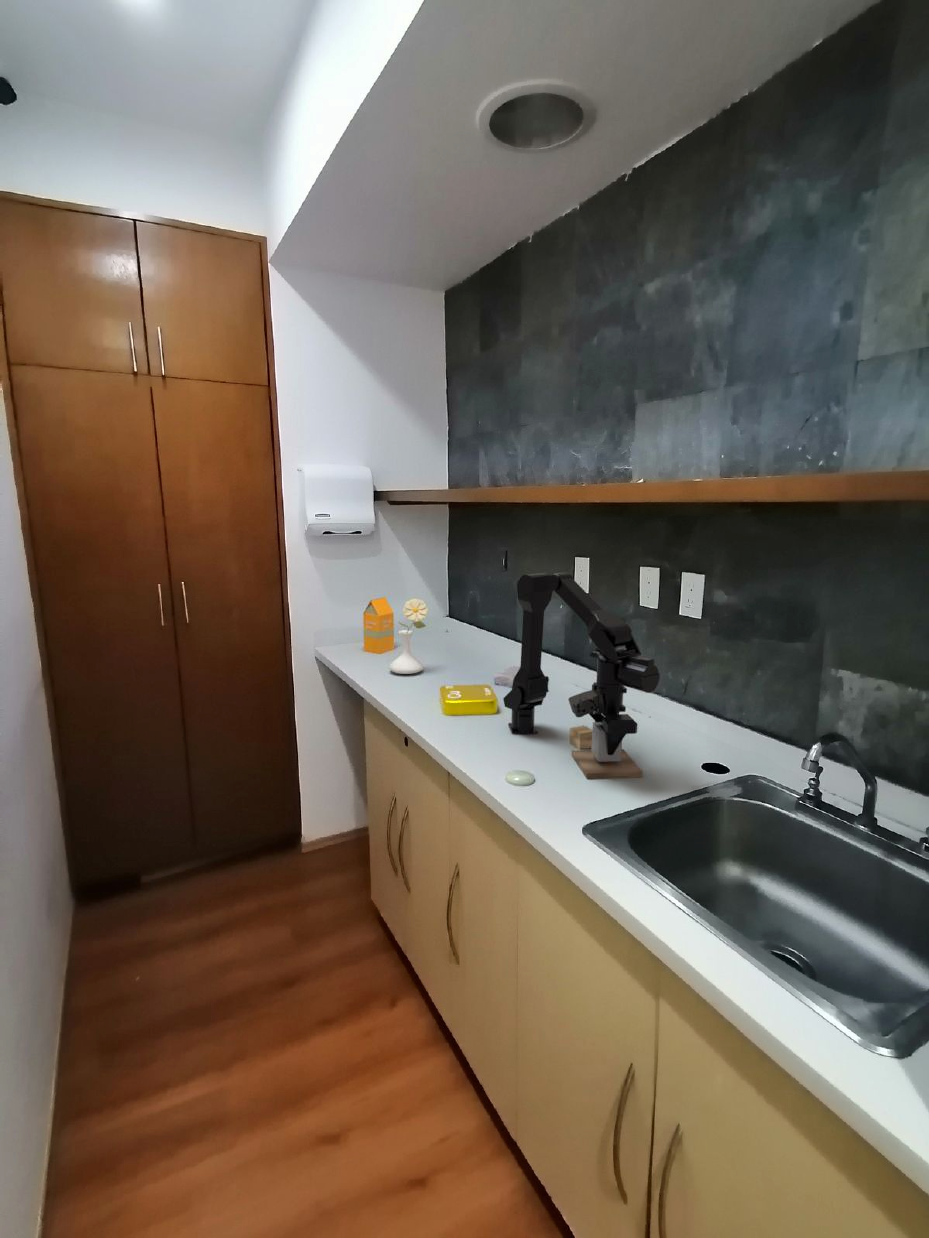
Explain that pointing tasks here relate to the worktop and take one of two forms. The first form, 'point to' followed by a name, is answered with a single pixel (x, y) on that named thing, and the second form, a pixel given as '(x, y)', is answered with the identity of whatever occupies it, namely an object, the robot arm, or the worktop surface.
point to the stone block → (506, 677)
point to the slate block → (603, 745)
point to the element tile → (468, 700)
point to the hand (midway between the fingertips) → (606, 749)
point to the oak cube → (581, 737)
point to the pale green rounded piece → (519, 778)
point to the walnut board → (606, 766)
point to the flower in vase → (406, 661)
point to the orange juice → (378, 627)
